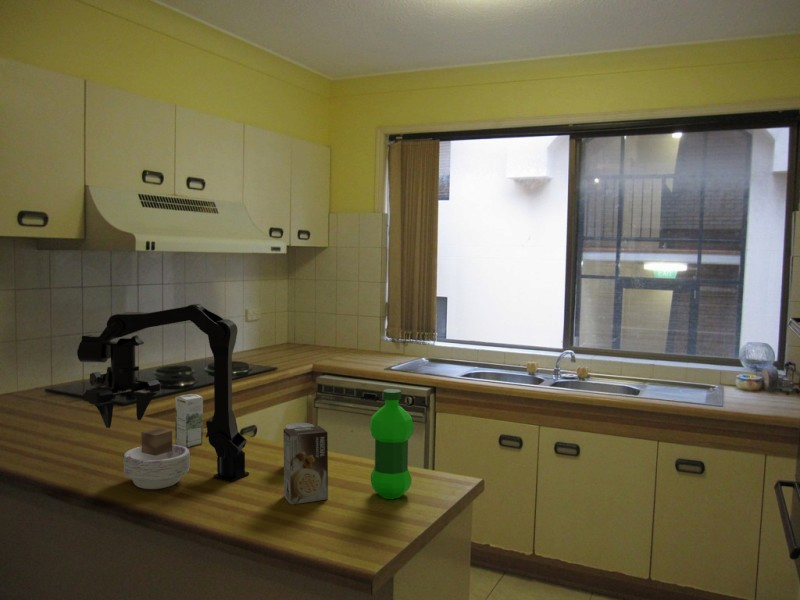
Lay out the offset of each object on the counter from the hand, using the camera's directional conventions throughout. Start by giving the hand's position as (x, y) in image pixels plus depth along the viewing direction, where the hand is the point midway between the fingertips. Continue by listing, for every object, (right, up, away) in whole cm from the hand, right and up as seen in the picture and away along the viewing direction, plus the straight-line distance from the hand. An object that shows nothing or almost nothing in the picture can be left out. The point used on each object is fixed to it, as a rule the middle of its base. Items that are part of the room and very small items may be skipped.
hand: (124, 423), depth 166 cm
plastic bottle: (+68, -15, -11) cm, 70 cm away
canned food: (+43, -13, +9) cm, 46 cm away
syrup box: (+8, -11, +27) cm, 31 cm away
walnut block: (+10, -6, -5) cm, 13 cm away
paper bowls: (+10, -14, -5) cm, 18 cm away
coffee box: (+48, -15, -13) cm, 52 cm away
